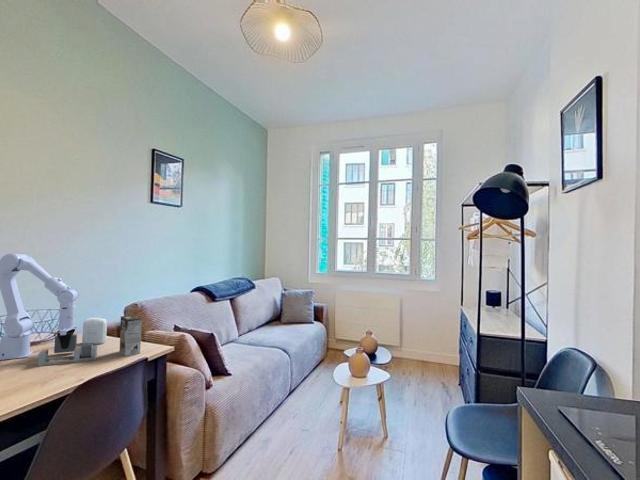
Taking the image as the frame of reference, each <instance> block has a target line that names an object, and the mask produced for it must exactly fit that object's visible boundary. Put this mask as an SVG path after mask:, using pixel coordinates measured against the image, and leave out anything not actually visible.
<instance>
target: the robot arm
mask: <svg viewBox="0 0 640 480" xmlns="http://www.w3.org/2000/svg"><path fill="white" fill-rule="evenodd" d="M20 271H28V272H29V273H31V275H34V276H35V277H36V278H38V279H39V280H40V281H41V282H43V283H44V288H46V289H47V290H48V291H49V292H50V293H52V294H53V295H54V296H55V297H56V299H57V301H58V303H59V310H58V311H59V313H58V314H59V315H58V327H57V330H58V331H59V332H57V333H56V336H58V338H59V340H60V343H61V348H62V349H67V348H68V346H69V342H70V338H71V336H72V334H74V333H75V332H76V329H78V327H79V326H78V325H75V324H76V308H77V307H76V305H77V299H79V292H78V291H77V289H75V288H71V286H69V285H68V284H66V283H65V282H64V281H63V279H62V278H61V277H56V276H51V274H50V273H48V272H47V271H46V270H45V269H44V268H43V267H42V266H41V265H40V264H38V263H37V262H36V260H35V259H34V257H31V256H30V255H29V254H28V253H24V252H20V253H7V254H4V255H3V256H2V257H1V258H0V292H1V296H2V300H3V303H4V307H5V310H6V313H7V316H6V318H5V320H4V324H5V326H4V333H5V335H6V336H5V335H4V336H2V337H1V338H0V361H3V360H12V359H14V360H15V359H23V358H28V357H29V356H31V355H32V353H33V352H34V351H33V350H31V334H32V333H31V330H33V329H34V327H35V321H34V319H33V318H31V316H30V314H29V313H28V312H27V311H26V310H25V307H24V304H23V301H22V297H21V294H20V290H19V287H18V283H17V280H16V276H17V274H19V272H20Z"/></svg>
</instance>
